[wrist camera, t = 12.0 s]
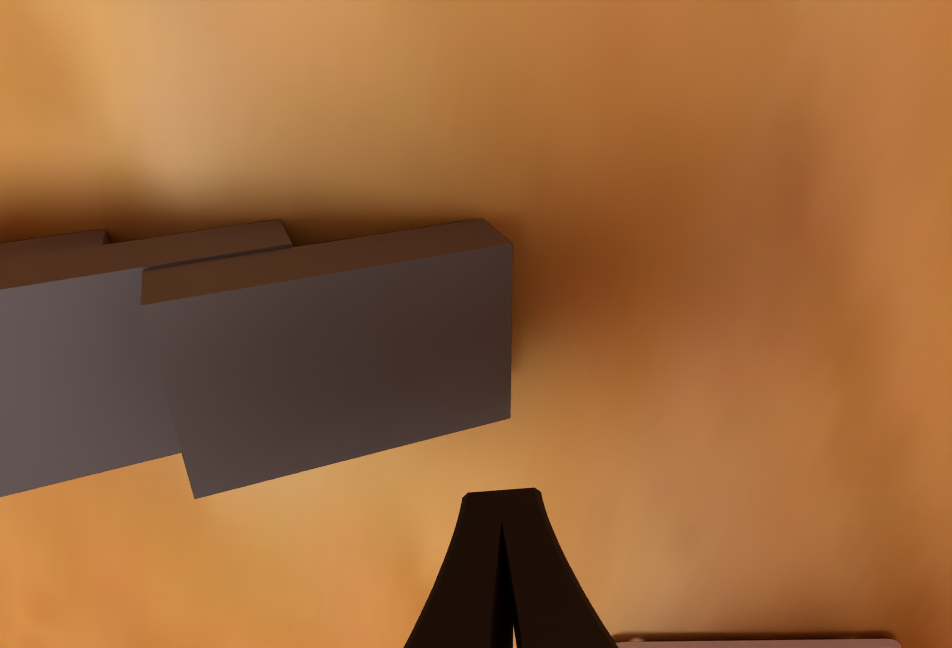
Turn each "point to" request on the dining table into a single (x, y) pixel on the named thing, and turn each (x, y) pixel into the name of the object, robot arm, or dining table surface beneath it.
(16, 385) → the tile
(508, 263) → the tile
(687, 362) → the dining table surface
